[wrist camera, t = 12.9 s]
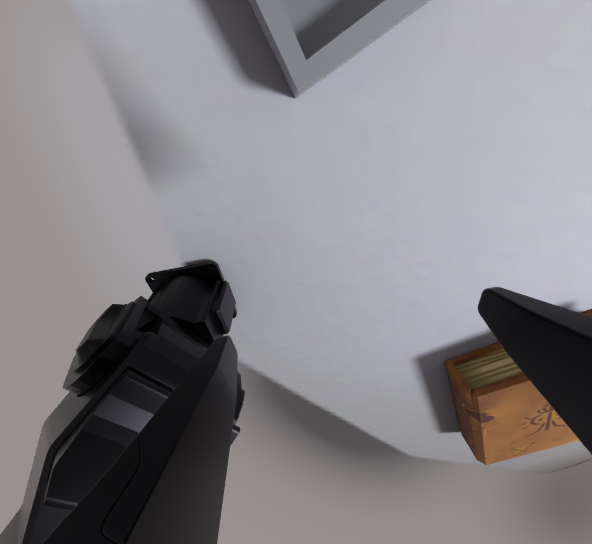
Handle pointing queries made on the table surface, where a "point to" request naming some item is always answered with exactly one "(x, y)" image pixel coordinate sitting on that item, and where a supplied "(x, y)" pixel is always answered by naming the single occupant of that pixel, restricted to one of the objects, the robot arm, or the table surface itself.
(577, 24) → the table surface
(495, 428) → the diary
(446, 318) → the table surface
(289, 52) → the tray
